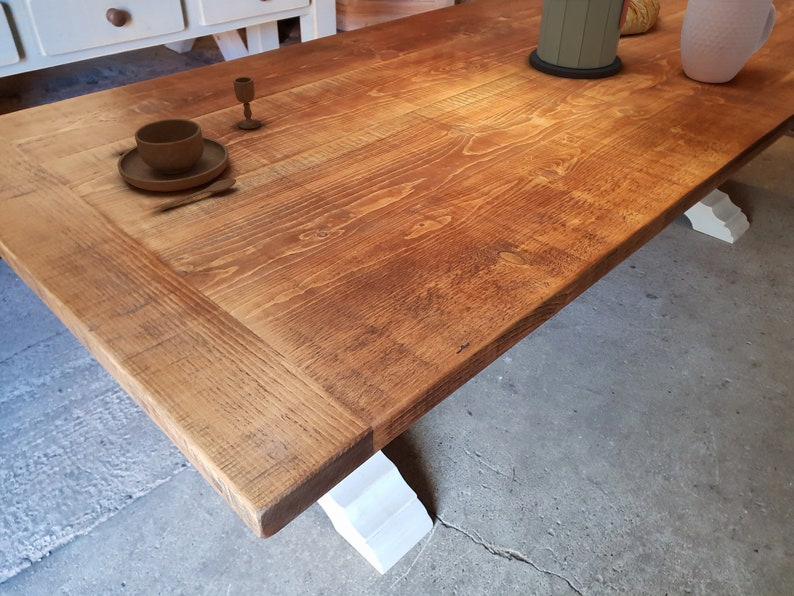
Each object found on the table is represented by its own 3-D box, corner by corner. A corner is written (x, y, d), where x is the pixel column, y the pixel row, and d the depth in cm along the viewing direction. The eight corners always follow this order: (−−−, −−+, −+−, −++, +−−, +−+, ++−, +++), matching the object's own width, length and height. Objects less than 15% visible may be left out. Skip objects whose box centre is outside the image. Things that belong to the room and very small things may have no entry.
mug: (730, 59, 107) (757, -28, 99) (782, 81, 98) (817, -13, 90) (654, 69, 102) (677, -22, 95) (703, 92, 94) (732, -5, 86)
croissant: (609, 61, 116) (638, 24, 110) (569, 25, 118) (595, -14, 111) (660, 34, 128) (688, -1, 122) (623, 1, 130) (649, -35, 124)
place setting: (98, 157, 76) (84, 108, 73) (252, 118, 86) (246, 73, 82) (152, 218, 65) (139, 164, 62) (322, 165, 75) (318, 116, 71)
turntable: (622, 55, 108) (623, 49, 108) (618, 83, 97) (619, 76, 97) (535, 46, 112) (536, 40, 111) (522, 73, 101) (523, 66, 100)
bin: (547, 42, 110) (563, -70, 100) (621, 51, 106) (645, -64, 96) (529, 62, 101) (544, -58, 91) (608, 73, 97) (634, -51, 87)
